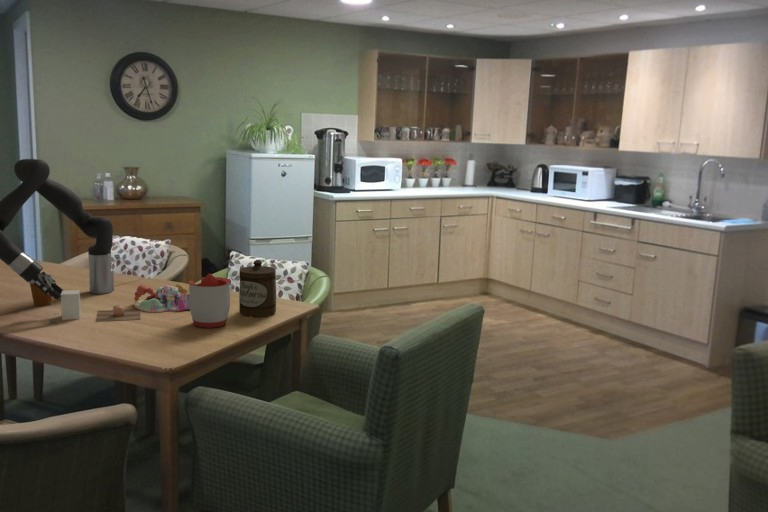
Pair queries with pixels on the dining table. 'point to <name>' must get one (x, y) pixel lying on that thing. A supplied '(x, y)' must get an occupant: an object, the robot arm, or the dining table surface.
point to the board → (108, 316)
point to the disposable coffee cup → (40, 295)
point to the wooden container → (257, 290)
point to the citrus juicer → (209, 301)
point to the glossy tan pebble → (118, 310)
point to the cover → (70, 304)
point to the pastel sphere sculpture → (163, 299)
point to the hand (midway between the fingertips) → (60, 295)
